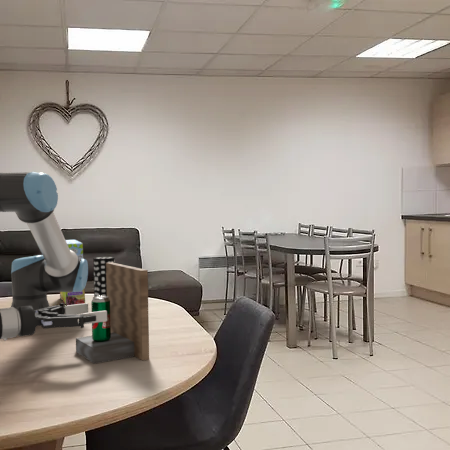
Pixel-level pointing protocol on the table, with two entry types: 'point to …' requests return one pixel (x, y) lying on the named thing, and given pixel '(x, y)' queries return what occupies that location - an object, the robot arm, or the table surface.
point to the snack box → (79, 297)
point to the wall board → (122, 317)
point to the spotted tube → (101, 275)
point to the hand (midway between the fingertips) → (96, 311)
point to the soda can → (101, 329)
